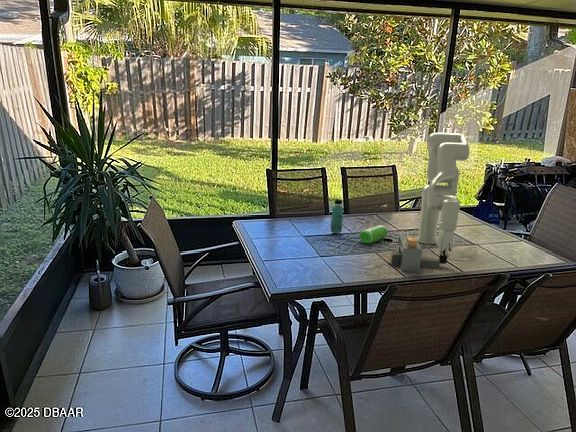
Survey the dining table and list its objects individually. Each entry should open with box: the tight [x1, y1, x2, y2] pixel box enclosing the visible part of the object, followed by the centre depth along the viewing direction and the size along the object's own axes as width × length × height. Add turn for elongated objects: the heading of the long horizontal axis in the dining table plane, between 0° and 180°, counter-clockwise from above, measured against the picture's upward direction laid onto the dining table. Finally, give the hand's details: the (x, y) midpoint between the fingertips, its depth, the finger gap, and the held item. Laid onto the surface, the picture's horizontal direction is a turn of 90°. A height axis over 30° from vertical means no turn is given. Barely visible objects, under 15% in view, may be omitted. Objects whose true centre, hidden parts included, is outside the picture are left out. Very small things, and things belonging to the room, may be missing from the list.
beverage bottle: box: [330, 198, 344, 234], centre depth 237 cm, size 6×7×20 cm
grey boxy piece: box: [396, 234, 423, 273], centre depth 199 cm, size 20×8×14 cm, turn 172°
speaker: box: [359, 224, 389, 244], centre depth 230 cm, size 18×7×8 cm, turn 134°
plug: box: [386, 250, 441, 268], centre depth 199 cm, size 5×24×5 cm, turn 82°
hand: (442, 263), depth 198 cm, fingers closed
